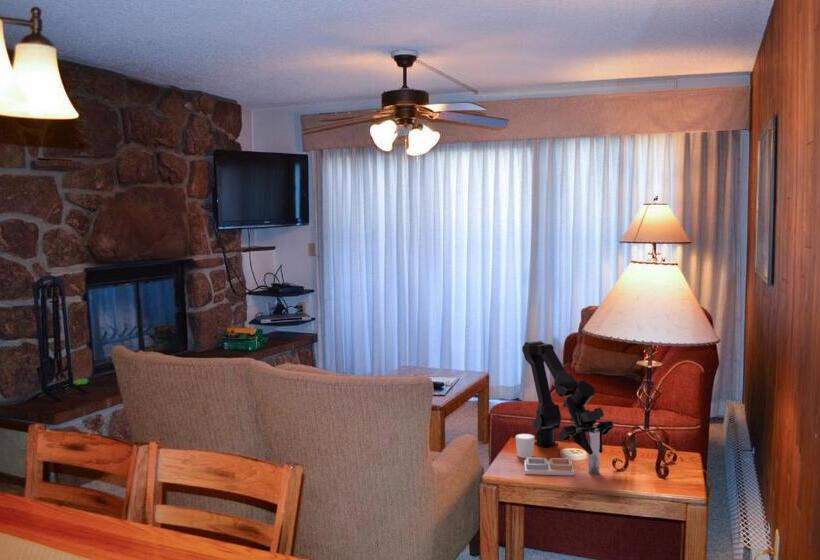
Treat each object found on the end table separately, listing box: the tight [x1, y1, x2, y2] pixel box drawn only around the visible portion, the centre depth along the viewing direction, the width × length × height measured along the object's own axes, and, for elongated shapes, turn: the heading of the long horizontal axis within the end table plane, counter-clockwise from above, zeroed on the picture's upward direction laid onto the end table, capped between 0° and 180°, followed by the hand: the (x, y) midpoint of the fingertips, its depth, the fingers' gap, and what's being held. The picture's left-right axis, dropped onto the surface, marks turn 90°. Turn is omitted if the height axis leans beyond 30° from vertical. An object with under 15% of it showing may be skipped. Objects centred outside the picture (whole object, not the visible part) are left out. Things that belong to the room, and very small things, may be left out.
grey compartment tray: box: [523, 457, 575, 476], centre depth 249 cm, size 10×16×3 cm, turn 83°
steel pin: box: [587, 430, 601, 476], centre depth 244 cm, size 4×4×14 cm
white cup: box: [515, 433, 536, 459], centre depth 263 cm, size 7×7×7 cm
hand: (596, 453), depth 243 cm, fingers closed on steel pin, 4 cm apart
